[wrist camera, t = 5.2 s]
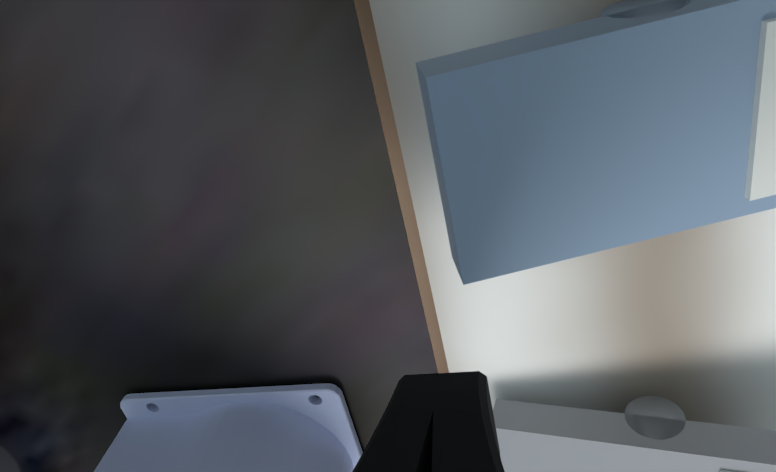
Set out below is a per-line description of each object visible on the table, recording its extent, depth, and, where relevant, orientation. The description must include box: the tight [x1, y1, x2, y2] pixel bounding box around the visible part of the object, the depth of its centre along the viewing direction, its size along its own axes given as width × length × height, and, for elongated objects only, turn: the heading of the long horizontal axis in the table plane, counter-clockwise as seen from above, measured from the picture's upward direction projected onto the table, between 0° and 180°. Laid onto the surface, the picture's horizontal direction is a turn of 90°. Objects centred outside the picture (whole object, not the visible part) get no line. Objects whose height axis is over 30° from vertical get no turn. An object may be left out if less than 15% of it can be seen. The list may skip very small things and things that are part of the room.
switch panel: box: [354, 0, 776, 430], centre depth 16 cm, size 16×24×4 cm, turn 12°
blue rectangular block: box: [416, 0, 776, 285], centre depth 11 cm, size 8×4×2 cm, turn 102°
